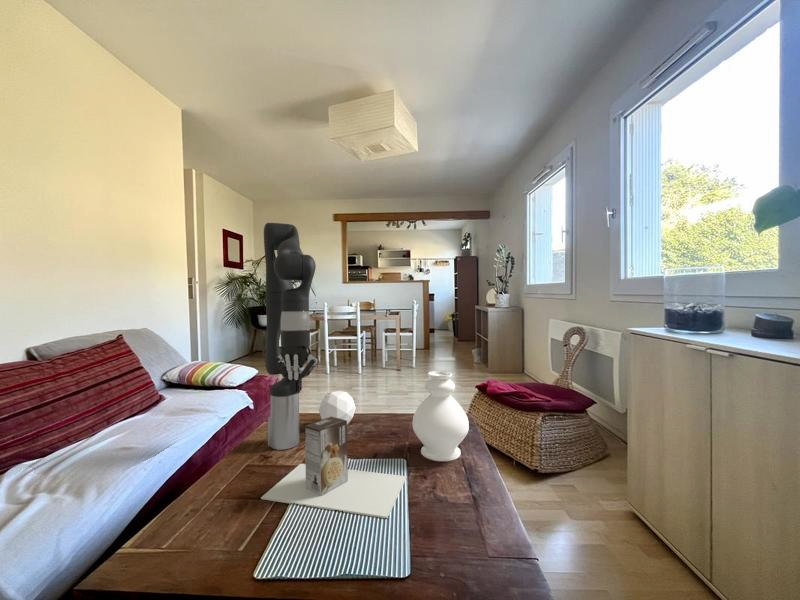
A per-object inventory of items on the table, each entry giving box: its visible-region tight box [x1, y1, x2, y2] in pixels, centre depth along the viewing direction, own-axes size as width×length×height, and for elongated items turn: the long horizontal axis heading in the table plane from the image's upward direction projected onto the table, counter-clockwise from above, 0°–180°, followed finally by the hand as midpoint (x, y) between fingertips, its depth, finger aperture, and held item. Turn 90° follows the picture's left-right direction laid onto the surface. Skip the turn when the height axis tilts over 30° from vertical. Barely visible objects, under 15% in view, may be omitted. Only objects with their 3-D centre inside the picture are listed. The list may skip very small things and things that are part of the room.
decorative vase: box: [411, 370, 470, 462], centre depth 107 cm, size 18×18×25 cm
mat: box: [260, 463, 407, 519], centre depth 86 cm, size 32×18×1 cm, turn 76°
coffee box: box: [304, 417, 349, 496], centre depth 87 cm, size 9×6×16 cm
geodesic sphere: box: [318, 389, 357, 426], centre depth 131 cm, size 15×14×14 cm
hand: (295, 393), depth 90 cm, fingers closed
